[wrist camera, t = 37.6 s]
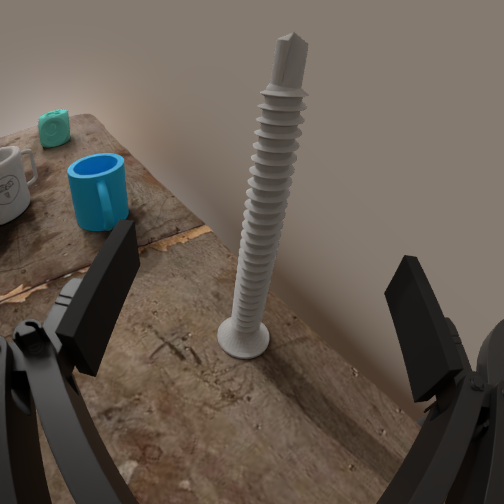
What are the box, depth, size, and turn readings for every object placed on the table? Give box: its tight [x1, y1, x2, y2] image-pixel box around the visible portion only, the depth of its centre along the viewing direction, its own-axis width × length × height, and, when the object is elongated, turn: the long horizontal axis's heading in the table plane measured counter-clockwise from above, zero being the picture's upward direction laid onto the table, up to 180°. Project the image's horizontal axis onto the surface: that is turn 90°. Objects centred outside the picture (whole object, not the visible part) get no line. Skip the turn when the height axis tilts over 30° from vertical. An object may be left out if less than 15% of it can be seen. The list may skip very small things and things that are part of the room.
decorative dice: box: [39, 109, 70, 148], centre depth 62 cm, size 8×8×8 cm
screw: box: [217, 32, 308, 359], centre depth 21 cm, size 5×26×5 cm
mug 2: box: [67, 153, 129, 231], centre depth 38 cm, size 12×8×8 cm
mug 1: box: [0, 146, 37, 225], centre depth 38 cm, size 14×11×10 cm
